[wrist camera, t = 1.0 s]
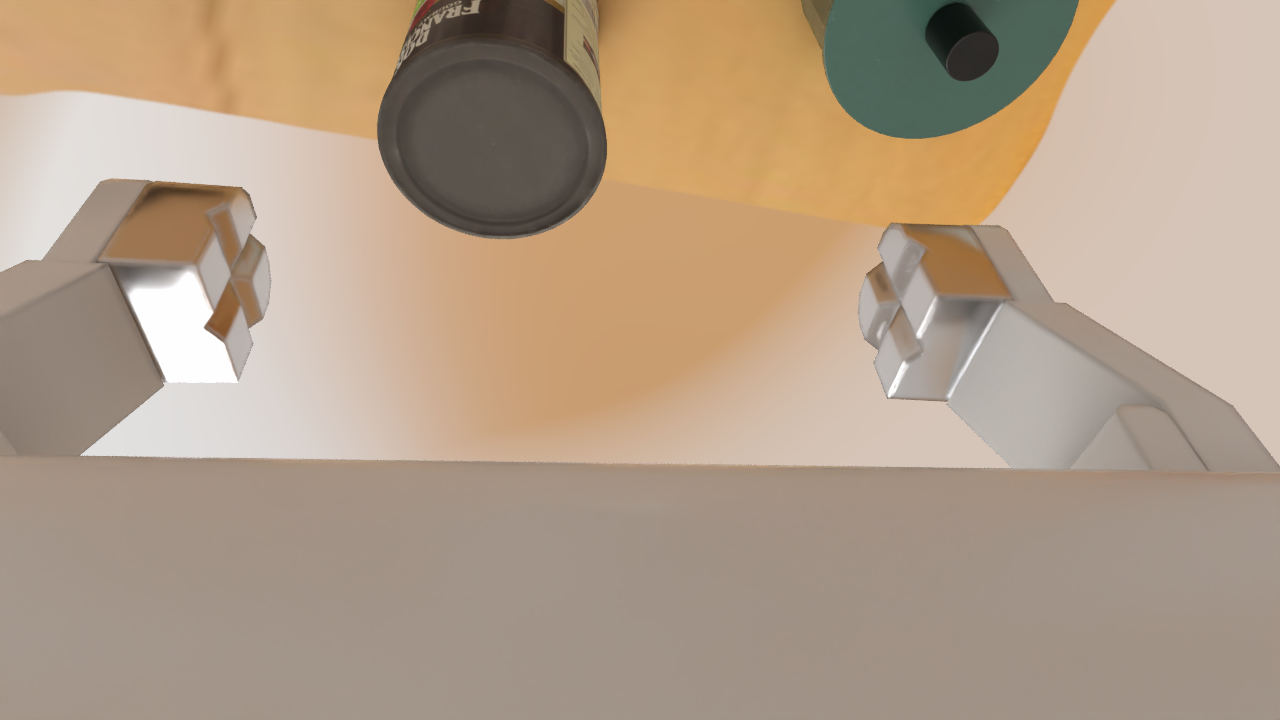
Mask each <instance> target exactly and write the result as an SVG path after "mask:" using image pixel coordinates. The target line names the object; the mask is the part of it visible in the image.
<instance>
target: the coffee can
mask: <svg viewBox="0 0 1280 720" xmlns="http://www.w3.org/2000/svg"><path fill="white" fill-rule="evenodd" d="M598 27H599V15H598V7H597V2H596V0H418V1H417V5H416V8H415V11H414V14H413V17H412V20H411V23H410V26H409V29H408V32H407V36H406V39H405V42H404V44H403V47H402V50H401V53H400V56H399V59H398V62H397V66H396V69H395V72H394V75H393V78H392V80H391V82H390V84H389V86H388V88H387V90H386V92H385V94H384V97H383V100H382V103H381V106H380V110H379V114H378V123H377V134H378V144H379V150H380V153H381V157H382V160H383V162H384V165H385V167H386V169H387V171H388V173H389V175H390V176H391V178H392V180H393V182H394V183H395V185H396V186H397V188H398V189H399V190H400V191H401V193H402V194H403V195H404V196H405V197H406V198H407V199H408V200H409V201H410V202H411V203H412V204H413V205H414V206H416V207H417V208H418V209H419V210H420V211H421V212H423V213H424V214H425V215H427V216H428V217H430V218H431V219H433V220H435V221H437V222H438V223H440V224H442V225H444V226H446V227H449V228H451V229H454V230H456V231H459V232H462V233H465V234H468V235H473V236H478V237H483V238H491V239H493V238H494V239H515V238H522V237H528V236H532V235H536V234H540V233H543V232H546V231H548V230H551V229H553V228H555V227H557V226H559V225H561V224H563V223H564V222H565V221H567V220H569V219H570V218H572V217H573V216H574V215H575V214H577V213H578V212H579V211H580V210H581V209H582V208H583V207H584V206H585V205H586V204H587V203H588V201H589V200H590V198H591V197H592V196H593V194H594V193H595V191H596V189H597V187H598V185H599V183H600V181H601V179H602V176H603V172H604V169H605V164H606V157H607V140H606V132H605V127H604V122H603V118H602V106H601V87H600V69H599V47H598Z"/></svg>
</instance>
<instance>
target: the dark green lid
mask: <svg viewBox="0 0 1280 720" xmlns="http://www.w3.org/2000/svg"><path fill="white" fill-rule="evenodd" d="M1078 1H1079V0H831V2H830V5H829V8H828V10H827V13H826V18H825V23H824V28H823V38H822V56H823V64H824V69H825V74H826V77H827V80H828V82H829V85H830V88H831V90H832V92H833V94H834V95H835V97H836V99H837V100H838V102H839V104H840V105H841V106H842V107H843V109H844V110H845V111H846V112H847V113H848V114H849V115H850V116H851V117H852V118H854V119H855V120H856V121H857V122H859V123H860V124H862V125H863V126H865V127H867V128H869V129H871V130H873V131H876V132H878V133H880V134H884V135H888V136H892V137H898V138H906V139H922V138H931V137H938V136H942V135H947V134H951V133H954V132H957V131H960V130H963V129H966V128H968V127H970V126H973V125H975V124H977V123H979V122H981V121H983V120H985V119H987V118H989V117H990V116H992V115H994V114H996V113H997V112H999V111H1000V110H1001V109H1003V108H1004V107H1006V106H1007V105H1009V104H1010V103H1011V102H1013V101H1014V100H1015V99H1016V98H1017V97H1019V96H1020V95H1021V94H1022V93H1023V92H1024V91H1025V90H1026V89H1027V88H1028V87H1029V86H1030V85H1031V84H1032V83H1033V82H1034V81H1035V80H1036V79H1037V78H1038V77H1039V76H1040V75H1041V73H1042V72H1043V71H1044V70H1045V69H1046V68H1047V66H1048V65H1049V63H1050V62H1051V61H1052V59H1053V58H1054V56H1055V55H1056V53H1057V52H1058V50H1059V48H1060V46H1061V45H1062V43H1063V41H1064V39H1065V38H1066V36H1067V33H1068V31H1069V29H1070V26H1071V24H1072V22H1073V19H1074V15H1075V12H1076V9H1077V6H1078Z"/></svg>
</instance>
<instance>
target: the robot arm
mask: <svg viewBox="0 0 1280 720" xmlns="http://www.w3.org/2000/svg"><path fill="white" fill-rule="evenodd" d="M256 218H257V216H256V213H255V210H254V207H253V204H252V201H251V198H250V195H249V194H248V193H247V192H246V191H245V190H244V189H243V188H242V187H231V186H217V185H203V184H189V183H176V182H162V181H155V182H152V181H149V180H130V179H108V180H104V181H101V182H100V183H99V184H98V185H97V186H96V188H95V189H94V191H93V192H92V193H91V195H90V196H89V197H88V199H87V200H86V201H85V203H84V204H83V205H82V207H81V208H80V210H79V211H78V212H77V213H76V215H75V216H74V218H73V219H72V220H71V222H70V223H69V224H68V226H67V227H66V228H65V230H64V231H63V233H62V234H61V235H60V236H59V238H58V239H57V240H56V242H55V243H54V244H53V246H52V247H51V249H50V250H49V251H48V253H47V254H46V255H45V257H44V258H43V259H42V261H39V260H26V261H24V262H22V263H20V264H18V265H15V266H13V267H11V268H9V269H7V270H5V271H3V272H0V720H1280V466H1279V465H1278V464H1277V462H1276V461H1275V460H1274V458H1273V457H1272V456H1271V454H1270V453H1269V452H1268V451H1267V449H1266V448H1265V447H1264V445H1263V444H1262V443H1261V441H1260V440H1259V439H1258V438H1257V436H1256V435H1255V434H1254V432H1253V431H1252V430H1251V429H1250V427H1249V426H1248V425H1247V423H1246V422H1245V421H1244V419H1243V418H1242V417H1241V416H1240V415H1239V413H1238V412H1237V410H1236V409H1235V408H1234V407H1233V405H1231V404H1229V403H1228V402H1226V401H1224V400H1223V399H1221V398H1220V397H1218V396H1216V395H1215V394H1213V393H1211V392H1210V391H1208V390H1207V389H1205V388H1203V387H1202V386H1200V385H1198V384H1197V383H1195V382H1193V381H1192V380H1190V379H1189V378H1187V377H1185V376H1184V375H1182V374H1180V373H1179V372H1177V371H1176V370H1174V369H1172V368H1171V367H1169V366H1167V365H1166V364H1164V363H1162V362H1161V361H1159V360H1158V359H1156V358H1154V357H1152V356H1151V355H1149V354H1148V353H1146V352H1145V351H1143V350H1141V349H1140V348H1138V347H1136V346H1135V345H1133V344H1132V343H1130V342H1128V341H1127V340H1125V339H1123V338H1122V337H1120V336H1119V335H1117V334H1115V333H1114V332H1112V331H1110V330H1109V329H1107V328H1106V327H1104V326H1102V325H1100V324H1099V323H1097V322H1096V321H1094V320H1092V319H1091V318H1089V317H1088V316H1086V315H1084V314H1083V313H1081V312H1079V311H1078V310H1076V309H1075V308H1073V307H1071V306H1070V305H1068V304H1066V303H1055V302H1054V301H1053V299H1052V298H1051V296H1050V294H1049V293H1048V291H1047V290H1046V288H1045V287H1044V285H1043V284H1042V282H1041V281H1040V279H1039V278H1038V276H1037V274H1036V273H1035V271H1034V270H1033V268H1032V267H1031V265H1030V264H1029V262H1028V261H1027V259H1026V258H1025V256H1024V255H1023V253H1022V251H1021V250H1020V249H1019V247H1018V246H1017V244H1016V242H1015V241H1014V239H1013V238H1012V236H1011V235H1010V233H1009V232H1008V230H1006V229H1004V228H1002V227H1001V226H997V225H996V226H995V225H992V226H991V225H963V226H960V225H933V224H907V223H891V224H890V225H889V226H888V227H887V229H886V230H885V231H884V233H883V235H882V237H881V240H880V242H879V244H878V247H877V249H878V251H879V253H880V256H881V258H882V260H883V261H882V262H881V263H880V264H879V265H877V266H876V267H875V268H873V269H872V270H871V271H870V272H868V273H867V274H866V277H865V280H864V283H863V286H862V289H861V292H860V298H859V308H858V315H859V323H860V328H861V330H862V333H863V336H864V339H865V340H866V341H867V342H868V343H870V344H871V345H872V346H873V347H875V348H876V349H878V350H879V351H878V354H877V356H876V358H875V360H874V365H875V368H876V371H877V374H878V376H879V379H880V381H881V384H882V386H883V389H884V392H885V394H886V397H887V399H906V400H927V401H946V402H947V406H948V407H949V408H951V409H952V410H953V411H954V412H955V413H956V414H957V415H958V416H959V417H960V418H961V419H962V420H963V421H964V422H965V423H966V424H967V425H968V426H969V427H970V428H971V429H972V430H973V431H975V433H977V435H978V436H979V437H981V438H982V439H983V440H984V441H985V442H986V443H987V444H988V445H989V446H990V447H991V448H992V449H993V450H994V451H995V452H996V453H997V454H998V455H999V456H1000V457H1001V458H1002V459H1003V460H1004V461H1005V462H1006V463H1007V464H1008V465H1009V466H1011V467H1012V468H929V467H928V468H926V467H925V468H923V467H922V468H921V467H862V466H861V467H860V466H796V465H790V466H789V465H729V464H657V463H576V462H574V463H573V462H496V461H495V462H494V461H418V460H416V461H415V460H414V461H413V460H345V459H344V460H343V459H340V460H339V459H336V460H335V459H272V458H271V459H270V458H200V457H197V458H195V457H128V456H127V457H126V456H80V455H81V454H82V453H83V452H84V451H85V450H87V449H88V448H89V447H90V446H92V445H93V444H94V443H95V442H96V441H98V440H99V439H100V438H101V437H103V436H104V435H105V434H106V433H108V432H109V431H110V430H111V429H112V428H113V427H115V426H116V425H117V424H118V423H120V422H121V421H122V420H123V419H124V418H126V417H127V416H128V415H129V414H131V413H132V412H133V411H134V410H135V409H137V408H138V407H139V406H140V405H142V404H143V403H144V402H145V401H146V400H148V399H149V398H150V397H151V396H152V395H153V394H155V393H156V392H157V391H158V390H160V389H161V388H162V387H163V386H164V384H163V382H238V381H239V379H240V376H241V373H242V371H243V368H244V366H245V363H246V361H247V358H248V356H249V353H250V351H251V348H252V346H253V341H252V338H251V335H250V332H249V328H250V327H252V326H253V325H255V324H256V323H258V322H259V321H261V320H262V319H263V318H264V315H265V312H266V309H267V306H268V304H269V297H270V288H271V275H270V265H269V260H268V256H267V252H266V249H265V246H264V245H262V244H261V243H260V242H259V241H258V240H257V239H256V238H255V237H253V236H252V235H251V234H250V231H251V229H252V227H253V224H254V222H255V220H256Z"/></svg>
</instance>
